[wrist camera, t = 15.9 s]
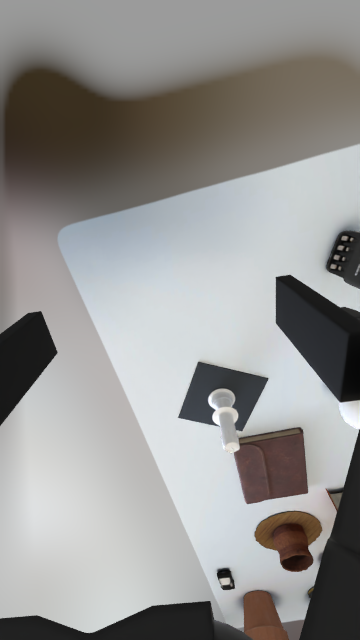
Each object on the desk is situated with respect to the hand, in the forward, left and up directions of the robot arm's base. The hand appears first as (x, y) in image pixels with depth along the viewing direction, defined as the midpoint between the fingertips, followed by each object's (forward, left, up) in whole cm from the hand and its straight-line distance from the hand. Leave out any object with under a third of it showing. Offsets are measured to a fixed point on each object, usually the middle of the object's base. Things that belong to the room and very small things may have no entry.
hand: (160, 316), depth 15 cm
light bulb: (+37, -16, -28) cm, 49 cm away
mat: (+17, -26, -28) cm, 42 cm away
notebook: (+34, -41, -28) cm, 61 cm away
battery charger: (+25, +6, -28) cm, 38 cm away
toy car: (+41, -91, -28) cm, 104 cm away
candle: (+17, -26, -28) cm, 42 cm away
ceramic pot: (+49, -64, -28) cm, 86 cm away
